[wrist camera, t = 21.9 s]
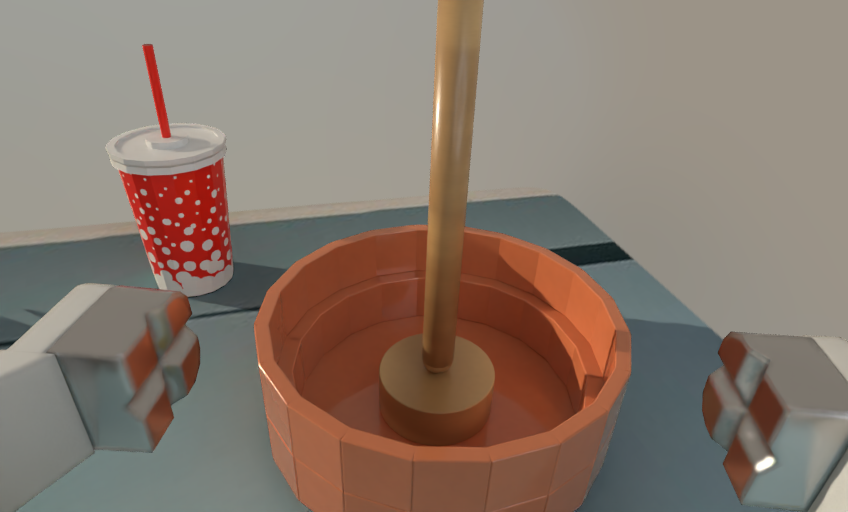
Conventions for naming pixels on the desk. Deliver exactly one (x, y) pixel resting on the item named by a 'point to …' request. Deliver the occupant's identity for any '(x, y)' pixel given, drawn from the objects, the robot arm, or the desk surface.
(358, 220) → the desk surface
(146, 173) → the beverage cup
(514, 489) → the bowl
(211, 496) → the desk surface
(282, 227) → the desk surface
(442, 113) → the wooden post stand
